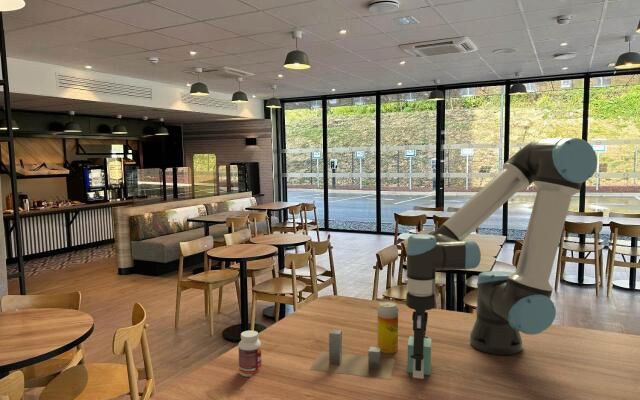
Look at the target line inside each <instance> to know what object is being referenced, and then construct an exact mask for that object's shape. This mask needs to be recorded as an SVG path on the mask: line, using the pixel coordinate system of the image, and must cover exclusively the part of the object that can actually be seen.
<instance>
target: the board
mask: <svg viewBox="0 0 640 400" xmlns="http://www.w3.org/2000/svg"><path fill="white" fill-rule="evenodd" d="M395 360H396V359H395V358H386V357H381V366H380V369H379V370H376V369H368V355H359V354H358V355H357V354H350V353H342V362H341V364H340V365H332V364H329V351H324V350H323V351H319V353H318V354H317V356H316V358H315V359H314V361H313V363H312V365H311V366H310V368H309V371H316V372H325V373H333V374H340V375H349V376H358V377H359V376H360V377H367V378H375V379H383V380H391V379H392V374H393V369H394V366H395Z"/></svg>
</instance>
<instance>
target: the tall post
mask: <svg viewBox="0 0 640 400" xmlns="http://www.w3.org/2000/svg"><path fill="white" fill-rule="evenodd" d="M328 352H329V364H332V365H340V364H341V362H342V354H343V330H342V329H334V328H331V329H330V331H329V333H328Z"/></svg>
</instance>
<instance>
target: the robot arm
mask: <svg viewBox="0 0 640 400" xmlns="http://www.w3.org/2000/svg"><path fill="white" fill-rule="evenodd" d="M597 166H598V156H597V153H596V151H595V150H594V148H593V146H592V145H591V144H590V143H589V142H588V141H587V140H585V139H582V138H580V137H579V138H578V137H569V136H565V137H554V138H553V137H552V138H551V137H549V138H548V137H545V138H544V137H542V138H538V139H536V140H535V139H534V140H533V141H531V142H529V143H528V144H526V145H525V146H523V147H522V148H521V149H519V150H518V151H517V152H515V153H514V154H513V155H512V156H510V158H509V159H507V161H505V162H504V163H503V165H502V169H501V171H499V172H498V173H497V175H495V176H494V177H493V178H492V179H491V180H490V181H488V183H486V184H485V185H484V186H482V188H481V189H479V191H478V192H476V193H475V194H474V195H473V196H472V197H471V198H470V199H469V200H468V201H467V202H466V203H464V204H463V205H462V206H461V207H460V208H459V209H458V210H457V211H456V212H455V213H454V214H453V215H451V216H450V217H449V218H448V219H447V220H446V221H445V222H444V223H442V224H441V225H440V226H439V227H438V228H437V229H436V230H428V231H427V232H425V233H424V234H423V233H415V234H411V235H410V236H409V237H408V238H407V242H406V243H407V244H406V278H405V279H404V281H403V282H404V283H406V291H407V292H406V294H405V296H406V297H405V299H406V301H405V305H406V306H407V307H408V308H409V309H411V310H413V311H412V315H411V316H412V331H413V337H414V348H413V355H411V358H413V373H412V378H414V379H422V380H424V375H425V374H424V356H423V349H424V338H429V337H428V336H426V334H427V333H426V332H427V323H428V318H429V315H428V314H429V312H428V311H431V310H433V309H434V308H435V305H436V303H435V302H436V294H435V293H436V278H437V277H436V272H437V271H453V270H454V271H455V270H464V271H465V270H471V269H476V268H477V267H479V266H480V262H481V259H482V257H481V256H482V255H481V249H480V247H479V245H478V243H477V242H475V241H474V240H465V239H466V238H467V237H469V236H470V234H472V233H473V232H475V231H476V230H477V229H478V228H479V226H481V225H482V224H484V222H485V221H486V220H488V219H489V218H490V217H491V216H492V215H494V214H495V212H497V210H499V209H500V208H501V207H502V206H503V205H504V204H505V203H507V202H508V201H509V200H510V199H511V198H512V197H513V196H514V195H515V194H516V193H517V192H518V191H520V190H521V189H523V188H525V189H526V188H528V187H530V186H531V184H534V185H535V187H536V189H537V191H536V195H535V199H534V202H533V205H532V211H531V213H530V216H529V217H530V218H529V219H528V220H529V221H528V225H527V228H526V232H525V234H524V235H525V236H524V239H523V243H522V246H521V250H520V254H519V259H518V261H517V265H516V269H515V271H514V272H513V271H504V270H500V271H499V270H490V271H483V272H480V273H479V274H478V276H477V282H476V285H477V288H476V289H477V290H476V291H477V292H476V318H475V322H474V323H473V326H472V328H471V331H470V334H469V343H470V345H471V346H472V347H473V348H474V349H476V350H479V351H480V352H483V353H487V354H491V355H498V356H510V355H511V356H512V355H515V354H518V353H521V351H522V350H523V340H522V337H521V333H522V334H526V335H532V336H533V335H539V334H541V333H542V332H544V331H546V330H547V329H549V328H550V327H551V326H552V324H553V323H554V321H555V320H556V317H557V310H556V309H557V308H556V306H555V303H554V301H553V300H552V299H551V298H552V297H551V296H552V293H553V290H554V289H553V287H552V285H551V284H550V282H549V281H550V277H551V273H552V270H553V267H554V262H555V260H556V256H557V255H556V254H557V252H558V248H559V244H560V241H561V237H562V234H563V229H564V226H565V222H566V220H567V215H568V213H569V207H570V204H571V200H572V197H573V196H575V195H577V194H579V193H580V191H581V189H582V186H583V183H585V182H587V181H588V180H589V179H590V178H592V177H593V176H594V174H595V173H596V171H597V168H598V167H597ZM520 332H521V333H520Z"/></svg>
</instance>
